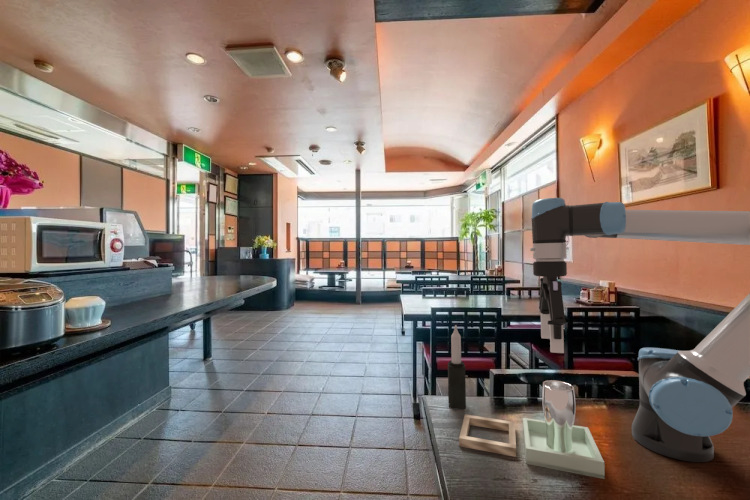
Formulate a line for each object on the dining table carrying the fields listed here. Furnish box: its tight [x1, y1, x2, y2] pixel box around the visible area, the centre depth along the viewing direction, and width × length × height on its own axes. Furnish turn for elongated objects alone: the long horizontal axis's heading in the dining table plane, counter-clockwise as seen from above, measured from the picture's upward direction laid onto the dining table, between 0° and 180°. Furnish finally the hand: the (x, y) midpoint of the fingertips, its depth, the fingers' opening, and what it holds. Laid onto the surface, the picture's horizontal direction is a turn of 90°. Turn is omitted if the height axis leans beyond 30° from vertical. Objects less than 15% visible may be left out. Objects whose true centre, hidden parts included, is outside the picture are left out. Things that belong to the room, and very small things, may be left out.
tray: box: [522, 417, 606, 480], centre depth 80 cm, size 15×15×4 cm
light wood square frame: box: [458, 413, 517, 458], centre depth 87 cm, size 13×13×2 cm
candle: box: [447, 324, 467, 410], centre depth 105 cm, size 5×5×25 cm
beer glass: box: [541, 379, 576, 454], centre depth 80 cm, size 7×7×15 cm
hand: (551, 345), depth 84 cm, fingers open, 13 cm apart
